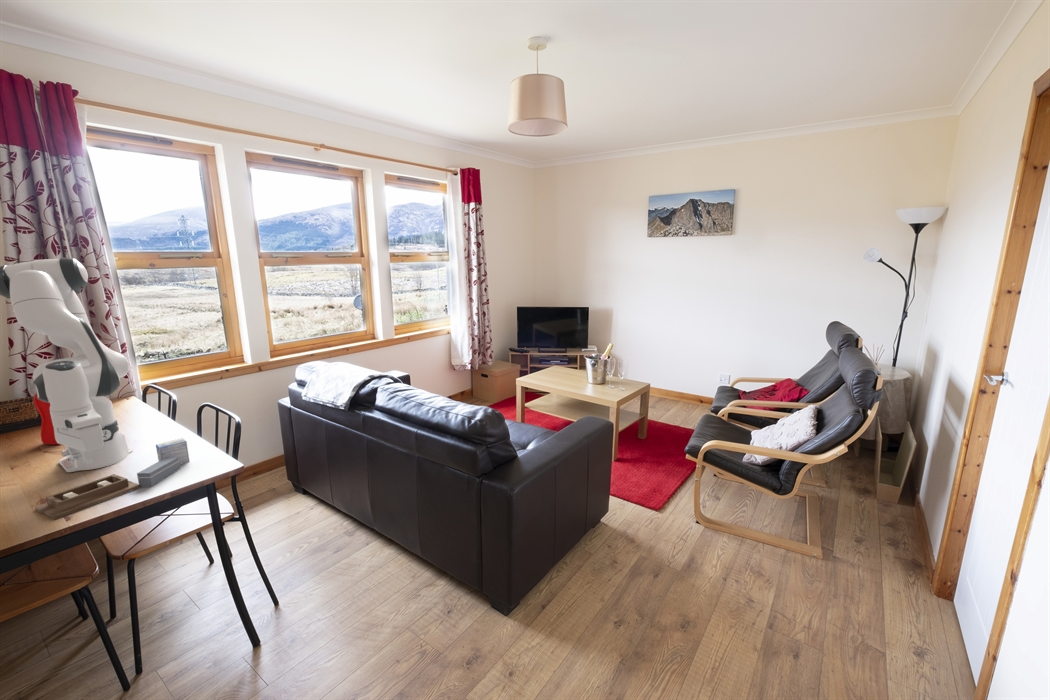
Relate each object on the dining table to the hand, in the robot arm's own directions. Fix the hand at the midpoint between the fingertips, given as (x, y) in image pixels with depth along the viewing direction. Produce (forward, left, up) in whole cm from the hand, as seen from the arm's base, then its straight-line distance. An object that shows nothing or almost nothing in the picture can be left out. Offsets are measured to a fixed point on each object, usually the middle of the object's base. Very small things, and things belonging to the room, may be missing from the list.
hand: (82, 461), depth 134 cm
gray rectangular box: (+4, +16, -12) cm, 21 cm away
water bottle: (-70, +19, -12) cm, 74 cm away
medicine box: (-2, +24, -12) cm, 27 cm away
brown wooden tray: (0, 0, -12) cm, 12 cm away
